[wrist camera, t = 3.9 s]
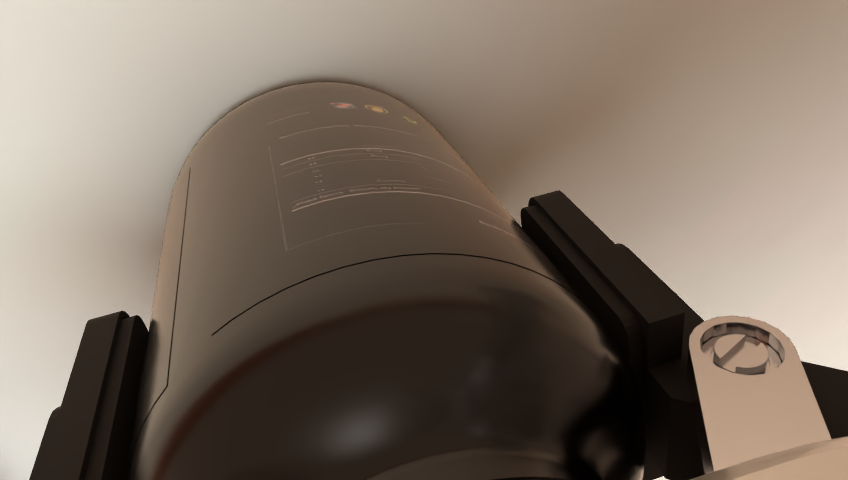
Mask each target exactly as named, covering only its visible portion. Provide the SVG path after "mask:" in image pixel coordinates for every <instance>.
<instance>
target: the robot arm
mask: <svg viewBox="0 0 848 480" xmlns="http://www.w3.org/2000/svg"><path fill="white" fill-rule="evenodd" d="M521 224H522V229H523V230H524V231H525V232H526V233H527V234H528V236H529V237H530V238H531V239H532V240H533V241H534V243H535V244H536V245H537V246H538V247H539V248H540V250H541V251H542V252H543V253H544V254H545V255H546V257H547V258H548V259H549V260H550V261H551V262H552V263H553V265H554V266H555V267H556V268H557V269H558V270H559V272H560V273H561V274H562V275H563V276H564V277H565V279H566V280H567V281H568V282H569V283H570V284H571V286H572V287H573V288H574V289H575V290H576V291H577V293H578V294H579V295H580V296H581V297H582V298H583V300H584V301H585V302H586V303H587V304H588V305H589V307H590V308H591V309H592V310H593V311H594V313H595V314H596V315H597V316H598V318H599V319H600V321H601V322H602V323H603V325H604V326H605V327H606V328H607V330H608V331H609V333H610V334H611V335H612V337H613V338H614V340H615V341H616V342H617V344H618V345H619V347H620V348H621V350H622V351H623V353H624V354H625V357H626V359H627V361H628V363H629V365H630V367H631V369H632V371H633V373H634V376H635V379H636V382H637V385H638V388H639V391H640V396H641V400H642V406H643V412H644V419H645V432H646V455H645V466H644V474H643V479H642V480H653V479H656V478H659V477H662V476H664V477H665V478H666V479H669V480H848V371H844V370H839V369H835V368H830V367H825V366H821V365H816V364H812V363H807V362H802V361H801V360H800V358H799V355H798V353H797V350H796V348H795V346H794V345H793V343H792V342H791V340H790V339H789V337H787V336H786V335H785V334H784V333H783V332H781V331H780V330H779V329H777V328H775V327H773V326H771V325H769V324H767V323H765V322H763V321H760V320H756V319H752V318H749V317H740V316H723V317H716V318H713V319H710V320H707V321H704V320H703V319H702V318H701V317H700V316H699V315H697V314H696V313H695V312H694V311H693V310H692V309H691V308H690V307H689V306H688V305H687V304H686V303H685V302H684V301H683V300H682V299H681V298H680V297H679V296H678V295H677V294H676V293H675V292H673V291H672V290H671V289H670V288H669V287H668V286H667V285H666V284H665V283H664V282H663V281H662V280H661V279H660V278H659V277H658V276H657V275H656V274H655V273H654V272H653V271H652V270H650V269H649V268H648V267H647V266H646V265H645V264H644V263H643V262H642V261H641V260H640V259H639V258H638V257H637V256H636V255H635V254H634V253H633V252H632V251H631V250H630V249H629V248H627V247H626V246H624V245H623V244H614V243H613V242H612V241H611V240H610V239H609V238H608V237H607V236H606V235H605V234H604V233H603V232H602V231H601V230H600V229H599V228H598V227H597V226H596V225H595V224H594V223H593V222H592V221H591V220H590V219H589V218H588V217H587V216H586V215H585V214H584V213H583V212H582V211H581V210H580V209H579V208H578V207H577V206H576V205H575V204H574V203H573V202H572V201H571V200H570V199H569V198H567V197H566V196H565V195H564V194H563V193H562V192H561V191H554V192H551V193H547V194H543V195H540V196H536V197H532V198H530V200H529V203H528V207H525V208H522V209H521ZM148 334H149V332H148V330H147V328H146V326H145V324H144V322H143V320H142V319H141V318H140V317H139V316H138V315H136V316H133V317H129V315H128V314H127V313H126V312H125V311H120V312H116V313H112V314H109V315H105V316H102V317H98V318H94V319H91V320H89V321H88V322H87V324H86V327H85V330H84V333H83V336H82V339H81V343H80V346H79V349H78V352H77V356H76V359H75V362H74V365H73V369H72V372H71V375H70V378H69V382H68V385H67V388H66V391H65V395H64V398H63V401H62V404H61V406H60V407H58V408H56V409H55V410H54V411H53V412H52V414H51V416H50V418H49V420H48V423H47V427H46V430H45V433H44V436H43V439H42V442H41V445H40V448H39V451H38V454H37V458H36V461H35V464H34V467H33V470H32V473H31V476H30V479H29V480H127V471H128V463H129V456H130V449H131V443H132V436H133V430H134V423H135V417H136V410H137V404H138V398H139V391H140V385H141V378H142V372H143V366H144V359H145V353H146V346H147V340H148Z"/></svg>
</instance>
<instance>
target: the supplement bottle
mask: <svg viewBox="0 0 848 480" xmlns="http://www.w3.org/2000/svg"><path fill="white" fill-rule="evenodd" d="M645 455H646V432H645V419H644V412H643V406H642V400H641V396H640V391H639V388H638V385H637V382H636V379H635V376H634V373H633V371H632V369H631V367H630V365H629V363H628V361H627V359H626V357H625V354H624V353H623V351H622V350H621V348H620V347H619V345H618V344H617V342H616V341H615V340H614V338H613V337H612V335H611V334H610V333H609V331H608V330H607V328H606V327H605V326H604V325H603V323H602V322H601V321H600V319H599V318H598V316H597V315H596V314H595V313H594V311H593V310H592V309H591V308H590V307H589V305H588V304H587V303H586V302H585V301H584V300H583V298H582V297H581V296H580V295H579V294H578V293H577V291H576V290H575V289H574V288H573V287H572V286H571V284H570V283H569V282H568V281H567V280H566V279H565V277H564V276H563V275H562V274H561V273H560V272H559V270H558V269H557V268H556V267H555V266H554V265H553V263H552V262H551V261H550V260H549V259H548V258H547V257H546V255H545V254H544V253H543V252H542V251H541V250H540V248H539V247H538V246H537V245H536V244H535V243H534V241H533V240H532V239H531V238H530V237H529V236H528V234H527V233H526V232H525V231H524V230H523V229H522V227H521V226H520V225H519V224H518V223H517V222H516V220H515V219H514V218H513V217H512V216H511V215H510V214H509V212H508V211H507V210H506V209H505V208H504V207H503V205H502V204H501V203H500V202H499V201H498V200H497V198H496V197H495V196H494V195H493V194H492V193H491V191H490V190H489V189H488V188H487V187H486V186H485V184H484V183H483V182H482V181H481V180H480V179H479V177H478V176H477V175H476V174H475V173H474V172H473V170H472V169H471V168H470V167H469V166H468V165H467V164H466V162H465V161H464V160H463V159H462V158H461V157H460V155H459V154H458V153H457V152H456V151H455V150H454V148H453V147H452V146H451V145H450V144H449V143H448V142H447V141H446V140H445V138H444V137H443V136H442V135H441V134H440V133H439V132H438V131H437V130H436V129H435V128H434V127H433V126H432V125H431V124H430V123H429V122H428V121H427V120H426V119H425V118H423V117H422V116H421V115H420V114H419V113H417V112H416V111H414V110H413V109H412V108H410V107H409V106H407V105H406V104H404V103H402V102H401V101H399V100H397V99H395V98H393V97H391V96H389V95H387V94H384V93H382V92H380V91H376V90H373V89H370V88H367V87H363V86H358V85H353V84H347V83H338V82H313V83H302V84H297V85H292V86H286V87H283V88H280V89H276V90H273V91H270V92H267V93H265V94H262V95H260V96H257V97H255V98H253V99H251V100H249V101H247V102H245V103H243V104H241V105H240V106H238V107H237V108H235V109H234V110H232V111H231V112H229V113H228V114H226V115H225V116H224V117H223V118H221V119H220V120H219V121H218V122H216V123H215V124H214V125H213V126H212V127H211V128H210V129H209V130H208V131H207V132H206V133H205V134H204V135H203V137H202V138H201V139H200V140H199V142H198V143H197V144H196V145H195V146H194V148H193V150H192V151H191V153H190V154H189V156H188V157H187V159H186V161H185V163H184V165H183V167H182V169H181V171H180V173H179V175H178V178H177V181H176V184H175V186H174V189H173V193H172V197H171V201H170V205H169V210H168V216H167V220H166V225H165V231H164V238H163V244H162V251H161V257H160V263H159V270H158V276H157V283H156V289H155V295H154V302H153V308H152V314H151V321H150V327H149V334H148V340H147V346H146V353H145V359H144V366H143V372H142V378H141V385H140V391H139V398H138V404H137V410H136V417H135V423H134V430H133V436H132V443H131V449H130V456H129V463H128V471H127V480H642V479H643V474H644V466H645Z"/></svg>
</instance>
